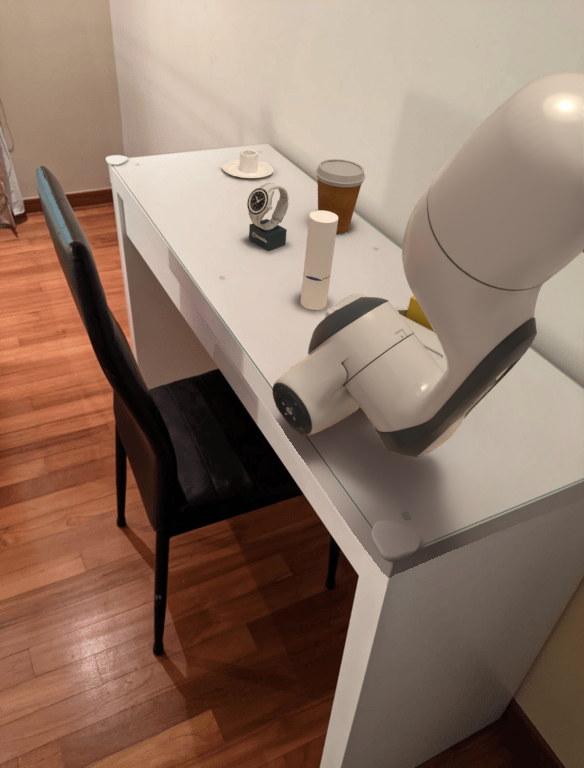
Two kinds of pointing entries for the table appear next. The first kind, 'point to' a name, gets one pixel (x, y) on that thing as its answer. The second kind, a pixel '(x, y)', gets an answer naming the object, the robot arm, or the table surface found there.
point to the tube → (318, 259)
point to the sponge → (417, 314)
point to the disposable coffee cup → (339, 189)
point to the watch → (267, 230)
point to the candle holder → (247, 166)
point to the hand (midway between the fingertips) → (430, 319)
